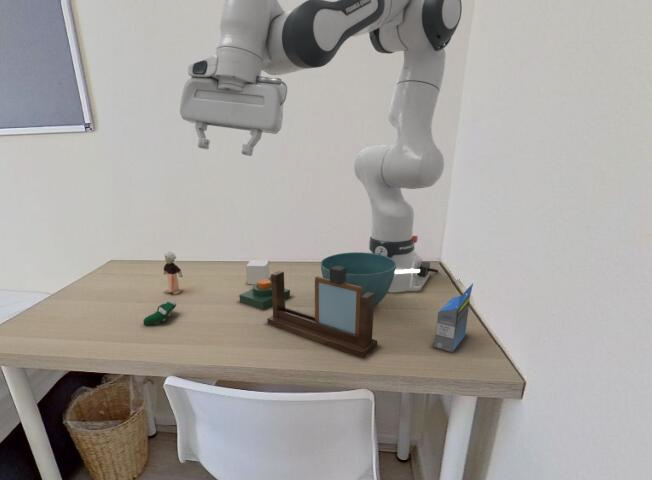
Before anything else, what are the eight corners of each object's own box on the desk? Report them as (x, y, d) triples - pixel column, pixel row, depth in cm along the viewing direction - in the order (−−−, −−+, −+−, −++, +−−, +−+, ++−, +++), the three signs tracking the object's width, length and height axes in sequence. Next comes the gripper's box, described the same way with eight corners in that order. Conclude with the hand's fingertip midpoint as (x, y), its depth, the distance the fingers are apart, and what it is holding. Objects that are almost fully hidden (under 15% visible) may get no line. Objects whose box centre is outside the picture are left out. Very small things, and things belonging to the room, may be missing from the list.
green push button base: (266, 290, 116) (266, 277, 115) (290, 297, 111) (289, 283, 109) (239, 302, 109) (238, 288, 107) (263, 310, 103) (262, 295, 102)
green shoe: (152, 333, 98) (165, 318, 95) (140, 322, 97) (153, 307, 95) (168, 317, 106) (181, 303, 104) (157, 307, 106) (170, 293, 103)
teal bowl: (371, 329, 90) (374, 279, 86) (307, 310, 101) (306, 265, 97) (404, 303, 103) (408, 258, 98) (344, 289, 114) (344, 248, 110)
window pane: (319, 324, 90) (318, 261, 84) (362, 339, 83) (365, 271, 77) (312, 328, 88) (312, 264, 83) (356, 343, 81) (359, 274, 76)
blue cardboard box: (447, 331, 88) (453, 279, 83) (465, 336, 85) (473, 282, 81) (433, 347, 81) (439, 292, 77) (453, 353, 79) (460, 296, 75)
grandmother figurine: (160, 293, 118) (153, 252, 113) (168, 289, 121) (162, 249, 117) (181, 296, 115) (176, 254, 111) (189, 291, 118) (183, 250, 114)
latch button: (264, 284, 111) (263, 278, 110) (273, 286, 109) (273, 281, 108) (255, 288, 108) (254, 282, 108) (264, 290, 106) (264, 284, 106)
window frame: (283, 315, 99) (281, 268, 95) (377, 346, 83) (380, 291, 78) (267, 324, 95) (264, 275, 91) (362, 358, 79) (365, 301, 74)
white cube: (251, 277, 128) (250, 260, 125) (269, 278, 126) (269, 260, 124) (247, 284, 122) (246, 265, 120) (266, 284, 121) (265, 265, 119)
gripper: (294, 85, 72) (280, 162, 75) (198, 76, 79) (188, 148, 81) (283, 72, 67) (268, 156, 69) (180, 63, 73) (170, 141, 75)
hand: (224, 151), depth 75 cm, fingers open, 8 cm apart
